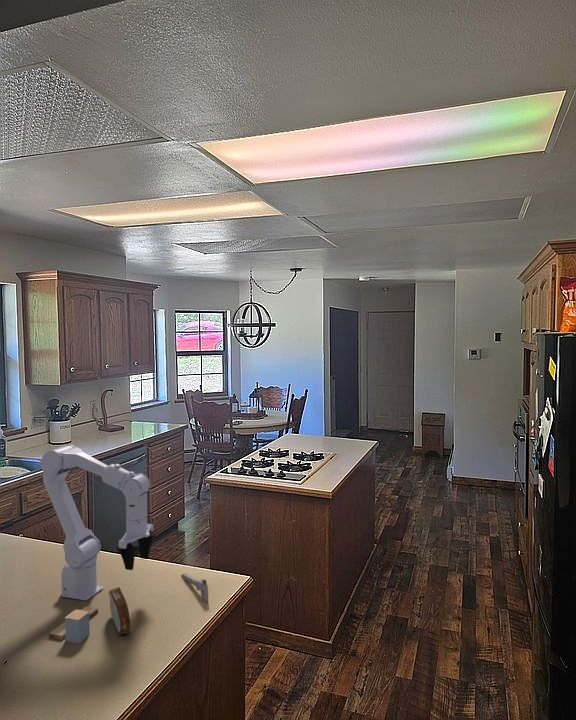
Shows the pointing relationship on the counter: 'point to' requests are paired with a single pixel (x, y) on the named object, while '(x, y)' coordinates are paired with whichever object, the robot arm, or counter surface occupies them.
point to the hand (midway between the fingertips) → (136, 563)
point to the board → (60, 631)
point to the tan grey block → (77, 626)
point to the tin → (119, 611)
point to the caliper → (198, 585)
